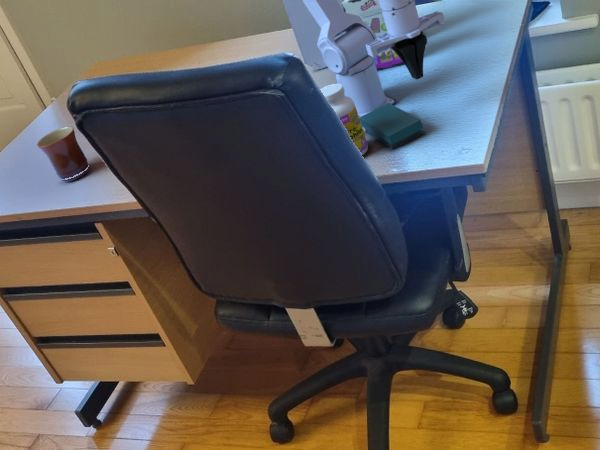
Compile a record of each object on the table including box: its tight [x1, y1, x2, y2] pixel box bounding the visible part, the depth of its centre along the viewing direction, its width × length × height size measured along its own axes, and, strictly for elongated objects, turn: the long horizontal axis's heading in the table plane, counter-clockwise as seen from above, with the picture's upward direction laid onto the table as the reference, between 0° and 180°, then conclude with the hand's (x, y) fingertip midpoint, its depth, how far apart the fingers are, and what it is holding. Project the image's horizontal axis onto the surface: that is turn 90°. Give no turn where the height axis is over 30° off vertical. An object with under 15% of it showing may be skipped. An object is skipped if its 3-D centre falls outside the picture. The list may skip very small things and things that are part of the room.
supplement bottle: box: [319, 83, 369, 156], centre depth 136 cm, size 7×7×13 cm
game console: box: [281, 0, 346, 70], centre depth 176 cm, size 6×27×20 cm, turn 83°
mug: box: [36, 126, 90, 183], centre depth 176 cm, size 12×9×10 cm
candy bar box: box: [342, 0, 405, 71], centre depth 165 cm, size 11×5×16 cm, turn 76°
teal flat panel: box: [359, 103, 424, 150], centre depth 139 cm, size 12×6×3 cm, turn 22°
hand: (417, 76), depth 138 cm, fingers closed
